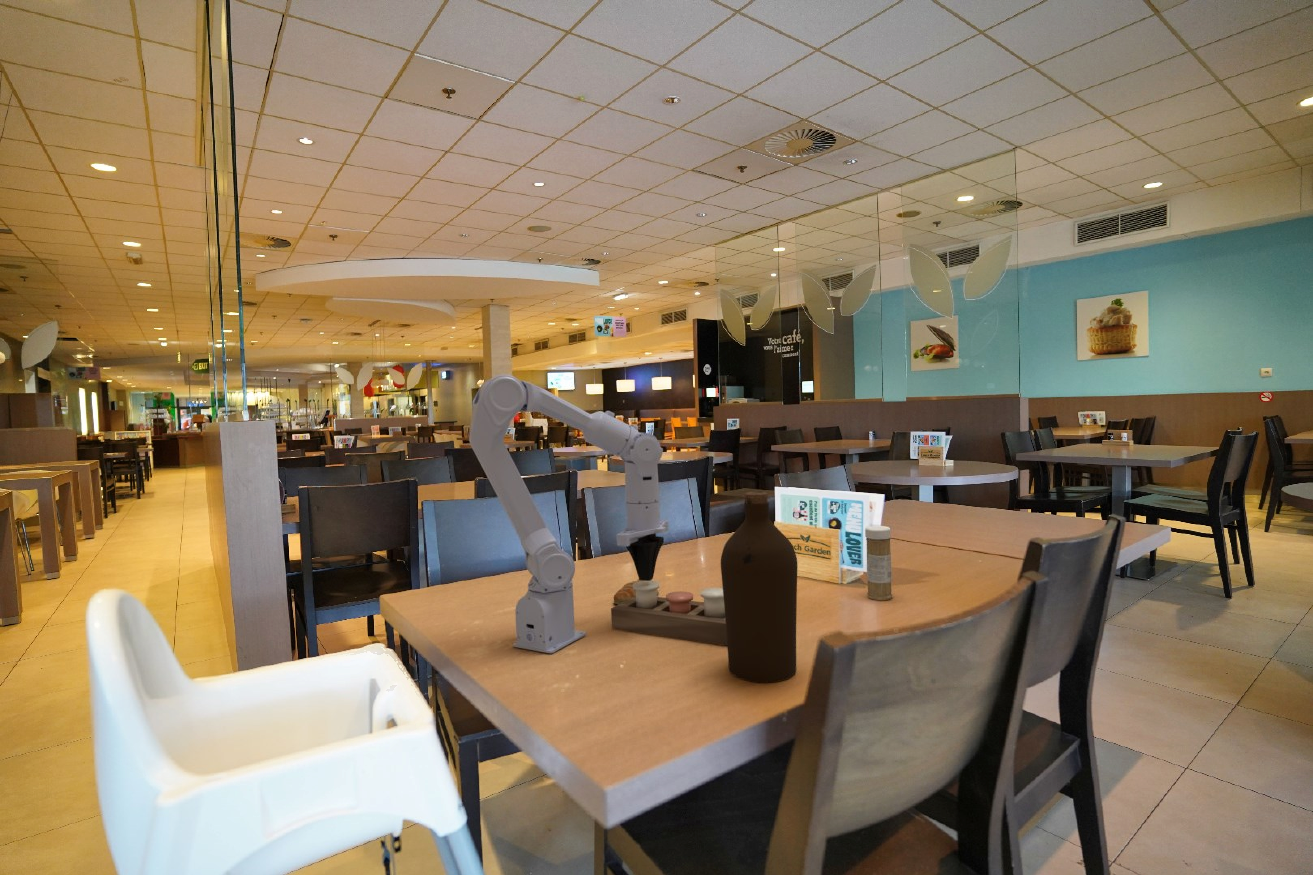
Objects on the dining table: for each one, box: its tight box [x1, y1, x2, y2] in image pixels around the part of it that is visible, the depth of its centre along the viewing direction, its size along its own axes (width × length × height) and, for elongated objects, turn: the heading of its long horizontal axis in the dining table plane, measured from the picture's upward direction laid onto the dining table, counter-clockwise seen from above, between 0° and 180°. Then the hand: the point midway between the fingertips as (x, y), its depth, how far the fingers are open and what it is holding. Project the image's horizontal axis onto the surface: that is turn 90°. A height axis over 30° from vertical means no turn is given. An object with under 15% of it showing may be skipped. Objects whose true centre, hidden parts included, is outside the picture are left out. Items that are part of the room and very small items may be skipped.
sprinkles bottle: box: [864, 525, 893, 601], centre depth 124 cm, size 5×5×14 cm
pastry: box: [613, 578, 660, 605], centre depth 129 cm, size 9×7×4 cm
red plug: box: [665, 591, 694, 614], centre depth 111 cm, size 5×5×4 cm
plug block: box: [610, 596, 727, 647], centre depth 111 cm, size 9×22×4 cm, turn 61°
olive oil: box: [720, 491, 798, 683], centre depth 92 cm, size 11×11×25 cm
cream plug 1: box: [633, 580, 660, 609], centre depth 114 cm, size 5×5×4 cm
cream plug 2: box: [700, 587, 725, 618], centre depth 108 cm, size 5×5×4 cm
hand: (645, 579), depth 114 cm, fingers closed
